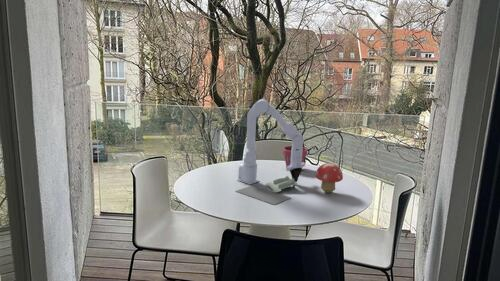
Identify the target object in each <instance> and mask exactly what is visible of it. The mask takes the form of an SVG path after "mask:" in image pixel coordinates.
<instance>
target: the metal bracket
mask: <svg viewBox="0 0 500 281" xmlns="http://www.w3.org/2000/svg"><path fill="white" fill-rule="evenodd" d="M297 185H298V183H297V182H295V181H294V178H293V179H292V177H289V176H288V175H287V176H285V177H281V178H280V177H279V178H277V179H274V180H272V181H269V182H266V183H265V187H269V188H271V191H272V192H274V193H280V192H282V190H283V189H286V188H290V187H293V188H294V189H296V186H297Z"/></svg>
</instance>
